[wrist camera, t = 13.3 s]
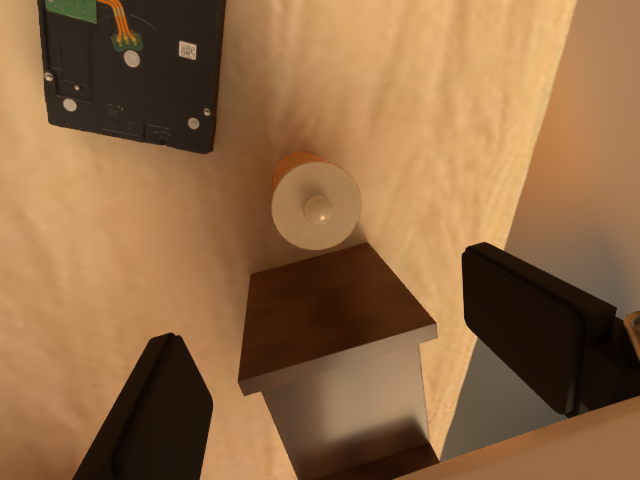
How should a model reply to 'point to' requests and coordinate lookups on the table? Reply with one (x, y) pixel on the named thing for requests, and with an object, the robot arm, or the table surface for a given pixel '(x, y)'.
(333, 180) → the canister
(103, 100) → the disk drive
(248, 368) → the shelf
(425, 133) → the table surface
